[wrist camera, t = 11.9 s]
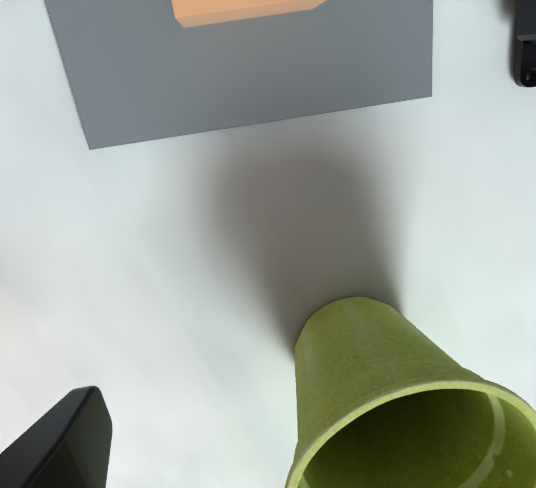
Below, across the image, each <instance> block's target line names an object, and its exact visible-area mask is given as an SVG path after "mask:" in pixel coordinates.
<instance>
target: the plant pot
mask: <svg viewBox="0 0 536 488" xmlns="http://www.w3.org/2000/svg"><path fill="white" fill-rule="evenodd" d="M295 377H296V395H297V421H298V442H297V445H296V449H295V454H294V461H293V464H292V466H291V469H290V471H289V474H288V477H287V481H286V485H285V488H536V412H535V410H534V409H533V408H532V407H531V406H530V405H529V404H528V403H527V402H526V401H524V400H523V399H522V398H521V397H519V396H518V395H517V394H515V393H514V392H512V391H511V390H509V389H507V388H505V387H503V386H501V385H499V384H496V383H493V382H491V381H488V380H484V379H483V378H482V377H480V376H479V375H477V374H475V373H474V372H472V371H470V370H468V369H465V368H463V367H461V366H460V365H459V364H458V363H457V362H455V361H454V360H453V359H452V358H451V357H449V356H448V355H447V354H446V353H445V352H444V351H442V350H441V349H440V348H439V347H438V346H437V345H435V344H434V343H433V342H432V341H431V340H430V339H429V338H427V337H426V336H425V335H424V334H423V333H422V332H421V331H420V330H418V329H417V328H416V327H415V326H414V325H413V324H412V323H411V322H409V321H408V320H407V319H406V318H405V317H404V316H403V315H401V314H400V313H399V312H398V311H397V310H396V309H395V308H393V307H392V306H391V305H389V304H386V303H384V302H380V301H377V300H374V299H370V298H367V297H360V296H358V297H348V298H343V299H339V300H336V301H334V302H331V303H329V304H327V305H325V306H324V307H322V308H321V309H319V310H318V311H316V312H315V313H314V314H313V315H312V316H311V317H310V318H309V319H308V320H307V322H306V323H305V325H304V327H303V329H302V331H301V333H300V335H299V338H298V340H297V343H296V345H295Z"/></svg>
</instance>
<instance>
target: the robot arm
mask: <svg viewBox="0 0 536 488" xmlns="http://www.w3.org/2000/svg"><path fill="white" fill-rule="evenodd" d="M516 36H517V45H516V57H515V69H514V81H515V83H516V85H518V86H520V87H536V0H518V12H517V25H516ZM529 69H530V70H531V76H530V78H529V79H528V80H527V79H526V73H527V71H528V70H529ZM111 440H112V421H111V417H110V415H109V412H108V409H107V407H106V404H105V401H104V399H103V396H102V393H101V391H100V389H99V388H98V387H97V386H87V387H82V388H76V389H73V390H72V391H70V392H69V393H68V394H67V395H66V396H65V397H64V398H62V399H61V400H60V401H59V402H58V403H57V404H56V405H55V406H53V407H52V408H51V409H50V410H49V411H48V412H47V413H46V414H44V415H43V416H42V417H41V418H40V419H39V420H38V421H37V422H36V423H34V424H33V425H32V426H31V427H30V428H29V429H28V430H27V431H25V432H24V433H23V434H22V435H21V436H20V437H19V438H18V439H16V440H15V441H14V442H13V443H12V444H11V445H10V446H9V447H8V448H6V449H5V450H4V451H3V452H2V453H1V454H0V488H106V480H107V472H108V464H109V456H110V448H111Z"/></svg>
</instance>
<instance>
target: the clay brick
mask: <svg viewBox="0 0 536 488" xmlns="http://www.w3.org/2000/svg"><path fill="white" fill-rule="evenodd" d="M325 1H326V0H172V5H173V10H174V15H175V18H176V20H177V21H178V22H179V23H180V24H181V25H182V26H183V27H184V28H187V27H194V26H201V25H208V24H215V23H222V22H228V21H235V20H242V19H249V18H256V17H263V16H269V15H276V14H283V13H290V12H297V11H304V10H310V9H314V8H315V7H317V6H318V5H320V4H321V3H323V2H325Z"/></svg>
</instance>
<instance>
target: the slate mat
mask: <svg viewBox="0 0 536 488" xmlns="http://www.w3.org/2000/svg"><path fill="white" fill-rule="evenodd" d="M44 1H45V4H46V7H47V11H48V14H49V17H50V21H51V24H52V27H53V31H54V34H55V37H56V41H57V44H58V47H59V51H60V54H61V57H62V61H63V64H64V67H65V71H66V74H67V77H68V80H69V84H70V87H71V90H72V94H73V97H74V100H75V104H76V107H77V110H78V114H79V117H80V120H81V124H82V127H83V130H84V134H85V137H86V140H87V144H88V147H89V150H91V149H98V148H104V147H111V146H117V145H124V144H130V143H136V142H143V141H149V140H156V139H162V138H168V137H175V136H181V135H188V134H194V133H200V132H207V131H213V130H220V129H226V128H233V127H239V126H245V125H252V124H258V123H265V122H271V121H277V120H284V119H290V118H297V117H303V116H310V115H316V114H322V113H329V112H335V111H342V110H348V109H354V108H361V107H367V106H374V105H380V104H386V103H393V102H399V101H406V100H412V99H419V98H425V97H431V96H432V37H433V0H326V1H325V2H323V3H321V4H320V5H318V6H317V7H315V8H314V9H310V10H304V11H297V12H290V13H283V14H276V15H269V16H263V17H256V18H249V19H242V20H235V21H228V22H222V23H215V24H208V25H201V26H194V27H187V28H184V27H183V26H182V25H181V24H180V23H179V22H178V21H177V20H176V18H175V15H174V10H173V5H172V0H44Z"/></svg>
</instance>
